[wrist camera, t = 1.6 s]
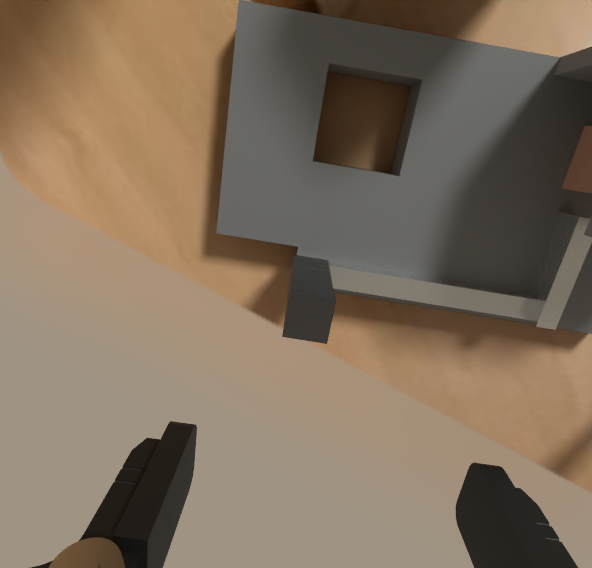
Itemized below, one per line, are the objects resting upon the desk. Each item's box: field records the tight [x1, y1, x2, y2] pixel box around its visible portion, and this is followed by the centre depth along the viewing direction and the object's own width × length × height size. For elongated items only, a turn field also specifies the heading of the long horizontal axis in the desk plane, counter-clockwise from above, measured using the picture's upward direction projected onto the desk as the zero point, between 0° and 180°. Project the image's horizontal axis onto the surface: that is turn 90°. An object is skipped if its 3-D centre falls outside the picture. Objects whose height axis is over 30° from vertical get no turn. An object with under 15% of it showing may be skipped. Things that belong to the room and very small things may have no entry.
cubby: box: [216, 0, 592, 334], centre depth 25 cm, size 32×18×12 cm, turn 81°
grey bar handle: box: [283, 211, 592, 344], centre depth 25 cm, size 19×8×9 cm, turn 81°
